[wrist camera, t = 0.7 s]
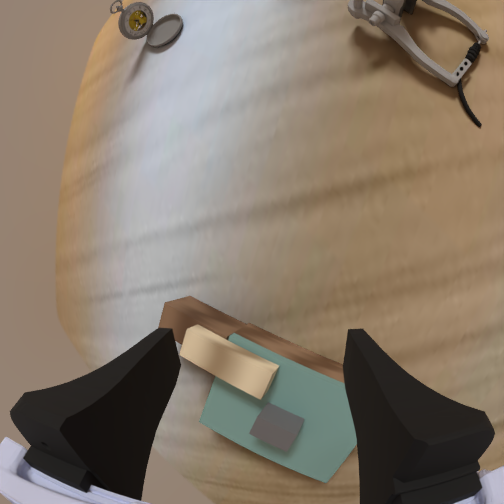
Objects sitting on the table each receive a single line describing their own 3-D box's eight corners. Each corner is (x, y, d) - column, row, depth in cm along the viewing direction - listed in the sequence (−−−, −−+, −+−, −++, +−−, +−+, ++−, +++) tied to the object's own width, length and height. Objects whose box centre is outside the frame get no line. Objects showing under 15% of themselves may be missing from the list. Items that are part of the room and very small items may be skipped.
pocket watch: (185, 36, 36) (144, 2, 27) (141, 59, 39) (98, 33, 30) (183, 5, 36) (148, -28, 27) (142, 27, 39) (105, 1, 30)
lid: (383, 398, 24) (383, 420, 21) (327, 477, 26) (320, 500, 22) (234, 332, 30) (215, 344, 26) (203, 417, 31) (184, 434, 28)
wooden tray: (382, 380, 28) (383, 403, 23) (333, 457, 30) (326, 482, 25) (190, 293, 36) (165, 300, 31) (168, 372, 38) (145, 386, 33)
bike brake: (336, 21, 27) (470, 132, 26) (335, -12, 21) (497, 116, 19) (393, -25, 24) (512, 71, 22) (398, -56, 17) (536, 51, 15)
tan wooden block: (279, 365, 27) (272, 374, 25) (268, 390, 27) (260, 399, 25) (197, 324, 30) (186, 329, 28) (190, 348, 30) (179, 354, 28)
